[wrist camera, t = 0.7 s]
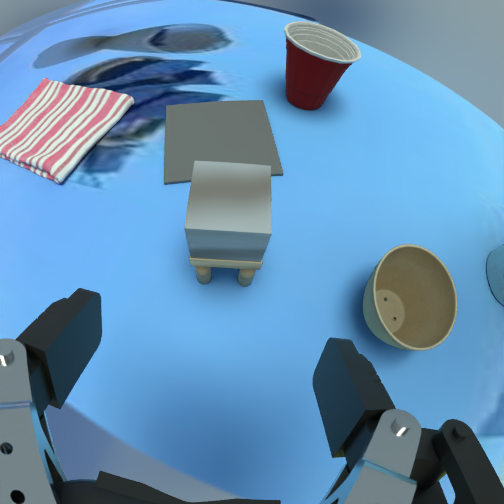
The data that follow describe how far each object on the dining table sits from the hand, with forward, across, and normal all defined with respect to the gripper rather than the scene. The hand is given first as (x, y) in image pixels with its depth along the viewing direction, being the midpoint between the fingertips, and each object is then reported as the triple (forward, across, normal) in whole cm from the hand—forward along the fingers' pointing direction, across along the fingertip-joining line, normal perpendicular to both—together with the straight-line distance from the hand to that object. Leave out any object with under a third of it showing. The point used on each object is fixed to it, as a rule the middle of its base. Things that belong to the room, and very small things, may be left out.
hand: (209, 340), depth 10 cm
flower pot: (+18, -18, +6) cm, 26 cm away
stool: (+20, 0, +4) cm, 21 cm away
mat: (+32, +4, -8) cm, 33 cm away
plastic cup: (+39, -7, -17) cm, 43 cm away
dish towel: (+33, +31, -6) cm, 46 cm away
